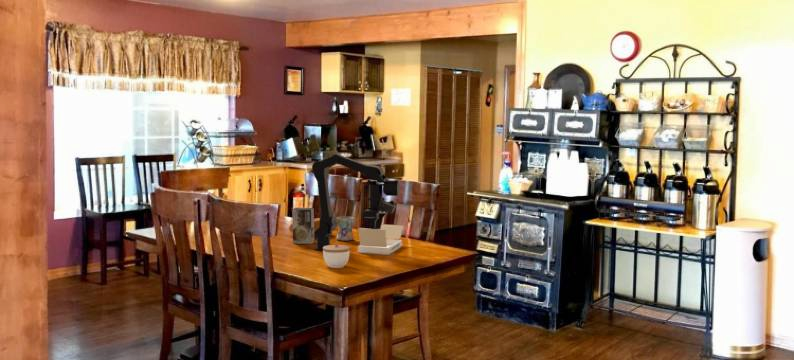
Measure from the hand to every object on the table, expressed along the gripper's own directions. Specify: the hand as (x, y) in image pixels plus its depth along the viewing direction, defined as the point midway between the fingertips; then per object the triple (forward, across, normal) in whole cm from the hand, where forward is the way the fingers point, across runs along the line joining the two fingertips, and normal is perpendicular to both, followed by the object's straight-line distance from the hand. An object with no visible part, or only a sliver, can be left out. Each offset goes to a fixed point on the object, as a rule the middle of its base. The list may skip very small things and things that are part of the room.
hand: (376, 230), depth 312 cm
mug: (+10, +25, +24) cm, 36 cm away
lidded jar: (+10, -32, +6) cm, 34 cm away
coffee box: (+9, +11, +39) cm, 41 cm away
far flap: (+3, +19, 0) cm, 20 cm away
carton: (+10, +6, 0) cm, 11 cm away
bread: (+9, +29, +44) cm, 53 cm away
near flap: (+2, -4, 0) cm, 5 cm away
